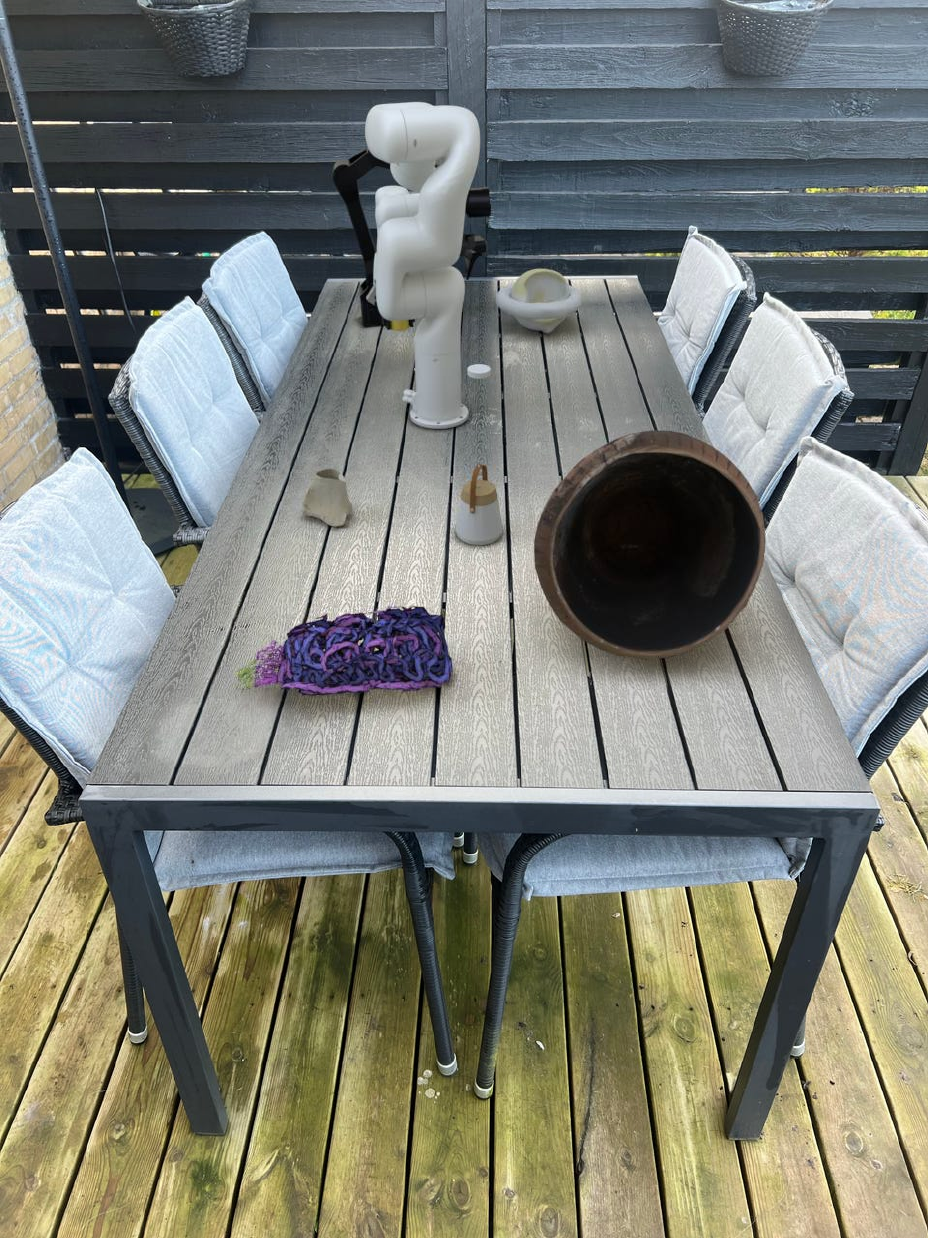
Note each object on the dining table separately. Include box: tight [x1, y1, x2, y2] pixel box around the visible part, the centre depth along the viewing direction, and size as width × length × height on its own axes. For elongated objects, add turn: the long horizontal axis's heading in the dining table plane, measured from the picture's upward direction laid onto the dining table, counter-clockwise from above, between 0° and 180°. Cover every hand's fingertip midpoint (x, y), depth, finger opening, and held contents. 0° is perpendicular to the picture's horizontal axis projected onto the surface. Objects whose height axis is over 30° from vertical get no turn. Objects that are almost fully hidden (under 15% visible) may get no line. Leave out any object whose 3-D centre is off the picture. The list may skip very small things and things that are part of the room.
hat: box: [495, 268, 583, 334], centre depth 236 cm, size 25×22×15 cm
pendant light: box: [455, 363, 503, 546], centre depth 153 cm, size 8×8×30 cm
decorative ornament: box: [235, 605, 454, 697], centre depth 129 cm, size 13×11×30 cm
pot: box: [533, 429, 767, 660], centre depth 139 cm, size 32×32×30 cm
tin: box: [390, 320, 410, 332], centre depth 218 cm, size 5×5×5 cm
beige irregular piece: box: [301, 468, 353, 528], centre depth 164 cm, size 9×8×10 cm
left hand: (450, 281), depth 242 cm, fingers open, 9 cm apart
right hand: (398, 325), depth 219 cm, fingers closed on tin, 4 cm apart
